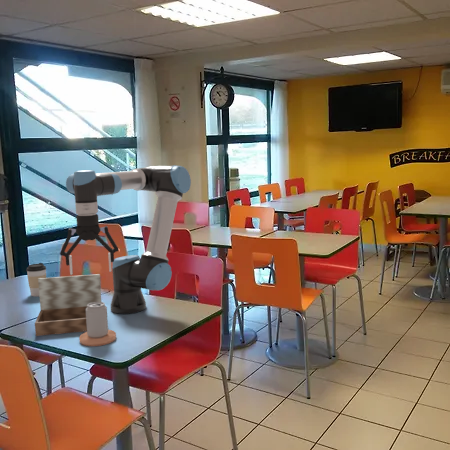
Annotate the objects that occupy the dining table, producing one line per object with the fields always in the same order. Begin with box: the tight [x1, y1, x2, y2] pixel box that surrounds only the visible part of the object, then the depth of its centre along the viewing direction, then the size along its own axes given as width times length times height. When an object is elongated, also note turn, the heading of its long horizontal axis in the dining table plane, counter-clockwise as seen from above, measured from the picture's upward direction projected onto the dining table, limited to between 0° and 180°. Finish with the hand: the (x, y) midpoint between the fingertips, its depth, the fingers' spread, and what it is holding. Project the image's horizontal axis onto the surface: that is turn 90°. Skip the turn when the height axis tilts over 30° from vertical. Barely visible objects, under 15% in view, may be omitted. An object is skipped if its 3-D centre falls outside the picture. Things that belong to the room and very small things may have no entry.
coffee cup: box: [25, 262, 47, 297], centre depth 243 cm, size 9×9×15 cm
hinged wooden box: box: [34, 273, 102, 337], centre depth 198 cm, size 24×17×18 cm
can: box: [86, 301, 109, 338], centre depth 183 cm, size 8×8×12 cm
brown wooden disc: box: [78, 329, 117, 347], centre depth 184 cm, size 13×13×2 cm
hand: (91, 272), depth 182 cm, fingers open, 13 cm apart
